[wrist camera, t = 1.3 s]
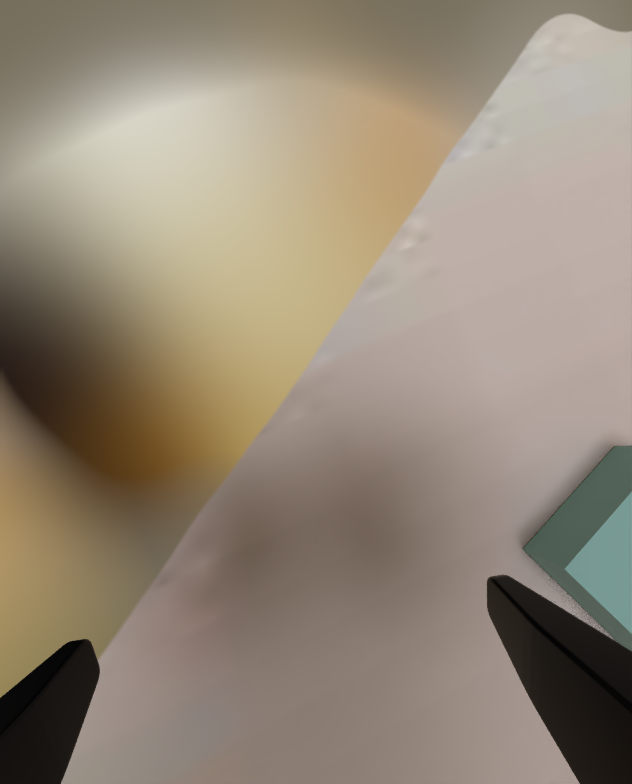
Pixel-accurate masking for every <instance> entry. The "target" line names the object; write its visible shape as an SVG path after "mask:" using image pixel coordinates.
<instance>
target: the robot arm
mask: <svg viewBox="0 0 632 784" xmlns="http://www.w3.org/2000/svg"><path fill="white" fill-rule="evenodd" d="M487 608H488V612H489V615H490V618H491V620H492V622H493V624H494V626H495V628H496V630H497V632H498V635H499V637H500V639H501V641H502V643H503V645H504V647H505V649H506V651H507V653H508V655H509V657H510V659H511V661H512V663H513V665H514V667H515V669H516V672H517V674H518V676H519V678H520V680H521V682H522V684H523V686H524V688H525V690H526V692H527V694H528V696H529V698H530V699H531V701H532V703H533V705H534V706H535V708H536V710H537V712H538V714H539V715H540V717H541V719H542V720H543V722H544V724H545V725H546V727H547V729H548V730H549V732H550V734H551V736H552V737H553V739H554V741H555V742H556V744H557V746H558V747H559V749H560V751H561V752H562V754H563V756H564V758H565V759H566V761H567V763H568V764H569V766H570V768H571V769H572V771H573V773H574V774H575V776H576V778H577V780H578V781H579V783H580V784H632V651H631V650H629V649H628V648H626V647H624V646H623V645H621V644H619V643H618V642H616V641H614V640H613V639H611V638H610V637H608V636H606V635H605V634H603V633H601V632H600V631H598V630H596V629H595V628H593V627H592V626H590V625H588V624H587V623H585V622H583V621H582V620H580V619H578V618H577V617H575V616H574V615H572V614H570V613H569V612H567V611H565V610H564V609H562V608H560V607H559V606H557V605H555V604H554V603H552V602H551V601H549V600H547V599H546V598H544V597H542V596H541V595H539V594H537V593H536V592H534V591H533V590H531V589H529V588H528V587H526V586H524V585H523V584H521V583H519V582H518V581H516V580H515V579H513V578H511V577H510V576H507V575H498V576H491V577H489V578H488V580H487ZM99 674H100V667H99V663H98V661H97V658H96V655H95V652H94V649H93V646H92V644H91V642H90V641H89V640H88V639H82V640H76V641H70V642H68V643H66V644H65V645H63V646H62V647H61V648H60V649H59V650H57V651H56V652H55V653H54V654H53V655H51V656H50V657H49V658H48V659H47V660H45V661H44V662H43V663H42V664H41V665H39V666H38V667H37V668H36V669H35V670H33V671H32V672H31V673H30V674H29V675H27V676H26V677H25V678H24V679H23V680H21V681H20V682H19V683H18V684H17V685H15V686H14V687H13V688H12V689H11V690H9V691H8V692H7V693H6V694H5V695H3V696H2V697H1V698H0V784H61V782H62V779H63V777H64V774H65V772H66V769H67V767H68V764H69V761H70V759H71V756H72V753H73V750H74V747H75V745H76V742H77V739H78V736H79V733H80V731H81V728H82V725H83V722H84V719H85V716H86V714H87V711H88V708H89V705H90V702H91V700H92V697H93V694H94V691H95V688H96V685H97V683H98V679H99Z"/></svg>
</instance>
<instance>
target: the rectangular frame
mask: <svg viewBox="0 0 632 784" xmlns="http://www.w3.org/2000/svg"><path fill="white" fill-rule="evenodd" d="M523 550H524V551H525V552H526V553H527V554H528V555H529V556H530V557H531V558H532V559H533V560H534V561H535V562H536V563H537V564H538V565H539V566H540V567H541V568H542V569H543V570H544V571H546V572H547V573H548V574H549V575H550V576H551V577H552V578H553V579H554V580H555V581H556V582H557V583H558V584H559V585H560V586H561V587H562V588H563V589H564V590H565V591H566V592H567V593H568V594H569V595H570V596H571V597H572V598H573V599H574V600H575V601H576V602H577V603H578V604H579V605H580V606H581V607H582V608H583V609H584V610H585V611H587V612H588V613H589V614H590V615H591V616H592V617H593V618H594V619H595V620H596V621H597V622H598V623H599V624H600V625H601V626H602V627H603V628H604V629H605V630H606V631H607V632H608V633H609V634H610V635H611V636H612V637H613V638H614V639H615V640H616V641H617V642H618V643H619V644H621V645H623V646H624V647H626V648H628V649H629V650H631V651H632V446H614V447H613V449H612V450H611V451H610V452H609V453H608V454H607V455H606V456H605V458H604V459H603V460H602V461H601V462H600V463H599V464H598V465H597V467H596V468H595V469H594V470H593V471H592V472H591V473H590V474H589V475H588V477H587V478H586V479H585V480H584V481H583V482H582V483H581V484H580V486H579V487H578V488H577V489H576V490H575V491H574V492H573V493H572V495H571V496H570V497H569V498H568V499H567V500H566V501H565V502H564V503H563V505H562V506H561V507H560V508H559V509H558V510H557V511H556V512H555V514H554V515H553V516H552V517H551V518H550V519H549V520H548V521H547V523H546V524H545V525H544V526H543V527H542V528H541V529H540V530H539V531H538V533H537V534H536V535H535V536H534V537H533V538H532V539H531V540H530V542H529V543H528V544H527V545H526V546H525V547H524V548H523Z"/></svg>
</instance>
